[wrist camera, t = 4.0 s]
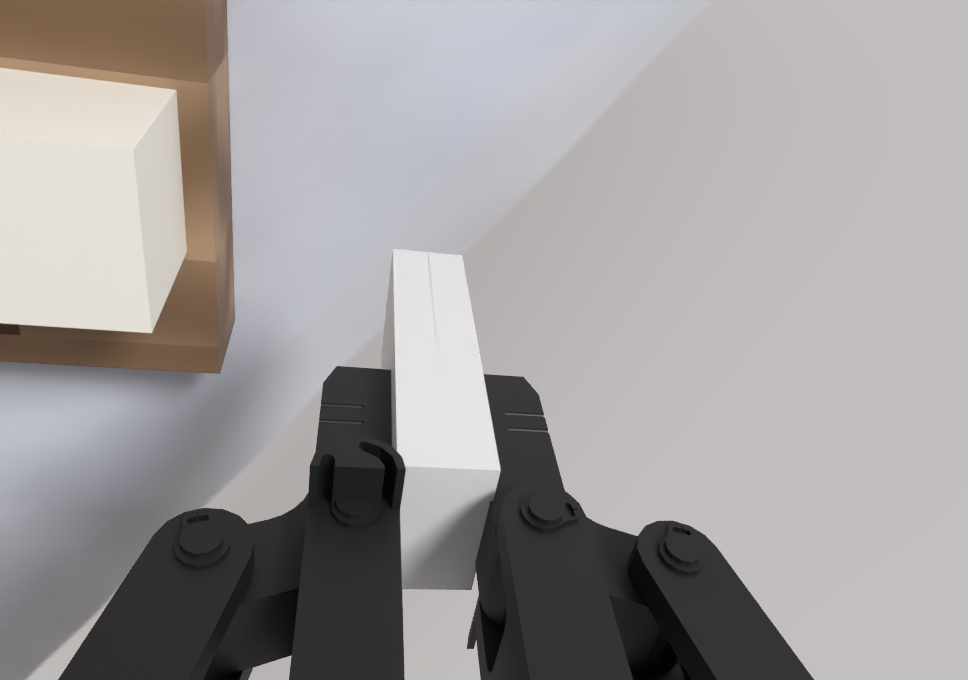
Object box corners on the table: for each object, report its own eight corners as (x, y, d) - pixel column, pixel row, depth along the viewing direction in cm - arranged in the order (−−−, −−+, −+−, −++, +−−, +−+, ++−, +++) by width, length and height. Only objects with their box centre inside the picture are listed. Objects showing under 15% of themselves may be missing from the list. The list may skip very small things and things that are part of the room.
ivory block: (-29, 64, 17) (-122, 121, 14) (176, 89, 18) (133, 150, 15) (8, 236, 20) (-63, 319, 16) (186, 251, 21) (152, 333, 17)
